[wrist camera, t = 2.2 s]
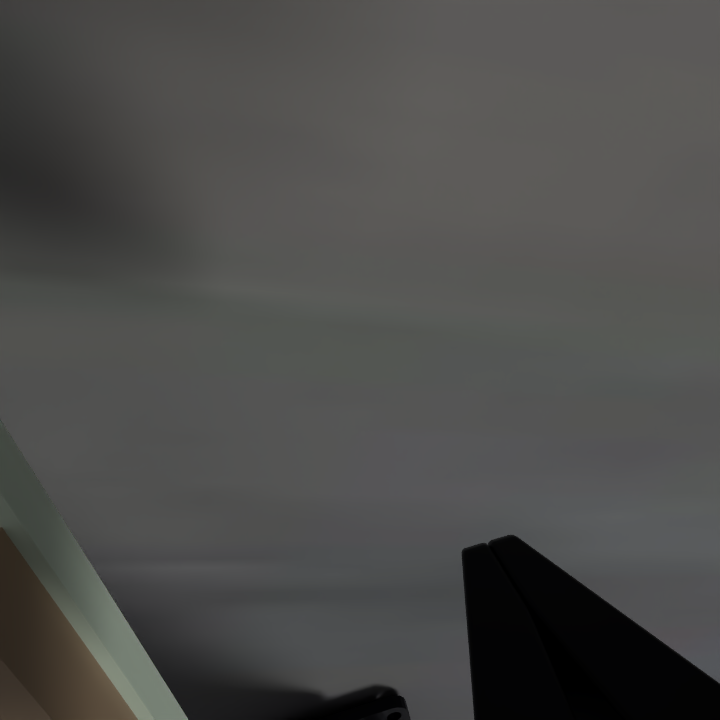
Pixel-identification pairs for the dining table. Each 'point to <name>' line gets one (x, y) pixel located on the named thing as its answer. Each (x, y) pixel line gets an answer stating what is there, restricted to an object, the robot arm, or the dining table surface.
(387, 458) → the dining table surface
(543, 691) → the robot arm
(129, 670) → the lid
